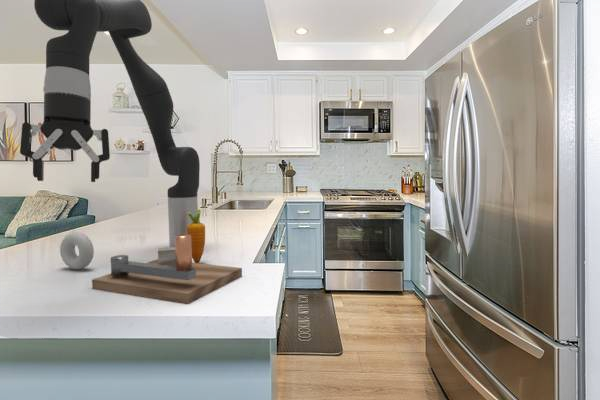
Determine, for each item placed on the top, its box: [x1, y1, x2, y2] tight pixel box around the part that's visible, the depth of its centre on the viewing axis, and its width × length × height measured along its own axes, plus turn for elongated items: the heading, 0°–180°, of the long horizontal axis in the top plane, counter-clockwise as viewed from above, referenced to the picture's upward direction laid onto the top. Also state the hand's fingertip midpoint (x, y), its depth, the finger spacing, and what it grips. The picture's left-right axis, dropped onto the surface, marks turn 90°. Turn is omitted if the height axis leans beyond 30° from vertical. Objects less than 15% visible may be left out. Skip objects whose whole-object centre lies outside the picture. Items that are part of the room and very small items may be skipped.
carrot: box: [187, 208, 206, 263], centre depth 102 cm, size 5×5×15 cm
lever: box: [110, 234, 196, 280], centre depth 79 cm, size 4×22×10 cm, turn 68°
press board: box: [91, 246, 243, 304], centre depth 85 cm, size 20×26×7 cm
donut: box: [59, 231, 95, 271], centre depth 97 cm, size 10×4×10 cm, turn 71°
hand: (67, 181), depth 70 cm, fingers open, 8 cm apart
